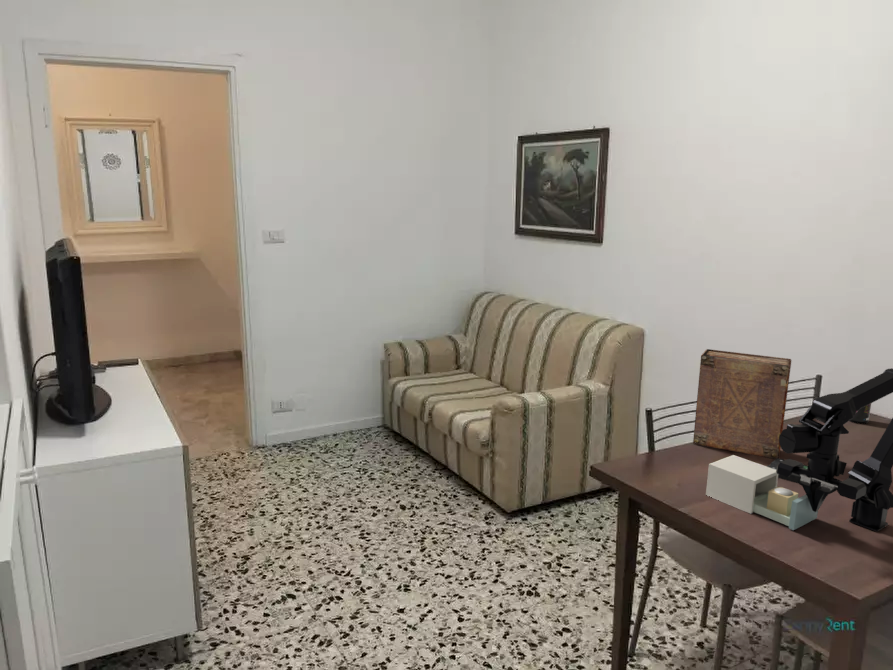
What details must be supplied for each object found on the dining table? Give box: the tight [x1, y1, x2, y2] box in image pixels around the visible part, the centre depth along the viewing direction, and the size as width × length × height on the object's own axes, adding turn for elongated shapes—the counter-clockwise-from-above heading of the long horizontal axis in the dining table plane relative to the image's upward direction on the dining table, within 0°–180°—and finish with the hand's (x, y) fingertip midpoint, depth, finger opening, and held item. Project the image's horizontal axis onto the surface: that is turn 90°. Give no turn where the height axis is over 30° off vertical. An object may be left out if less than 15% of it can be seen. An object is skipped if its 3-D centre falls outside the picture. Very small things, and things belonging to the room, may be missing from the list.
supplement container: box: [848, 403, 872, 425], centre depth 245 cm, size 7×7×10 cm
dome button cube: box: [767, 486, 799, 516], centre depth 172 cm, size 5×5×5 cm
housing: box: [705, 454, 779, 515], centre depth 181 cm, size 13×11×9 cm
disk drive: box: [765, 457, 821, 486], centre depth 197 cm, size 10×3×15 cm
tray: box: [753, 493, 819, 531], centre depth 172 cm, size 13×11×7 cm
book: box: [692, 348, 792, 460], centre depth 215 cm, size 25×9×30 cm, turn 61°
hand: (815, 511), depth 165 cm, fingers closed
